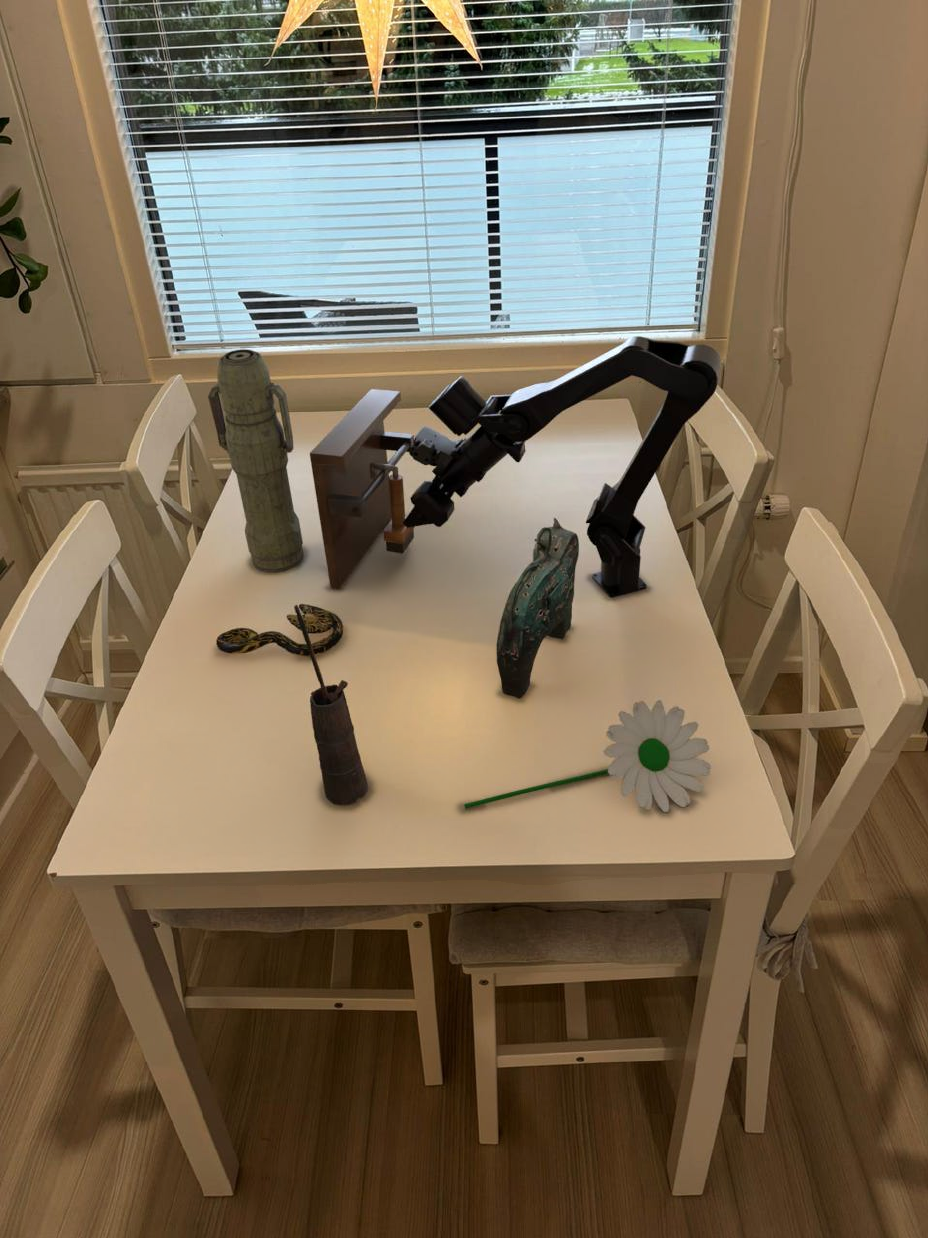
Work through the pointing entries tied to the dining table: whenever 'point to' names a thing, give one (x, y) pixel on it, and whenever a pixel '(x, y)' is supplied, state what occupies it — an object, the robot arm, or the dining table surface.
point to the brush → (395, 512)
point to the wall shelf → (355, 481)
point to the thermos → (258, 457)
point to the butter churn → (335, 737)
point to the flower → (647, 758)
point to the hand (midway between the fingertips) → (414, 510)
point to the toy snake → (314, 621)
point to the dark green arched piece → (537, 607)
